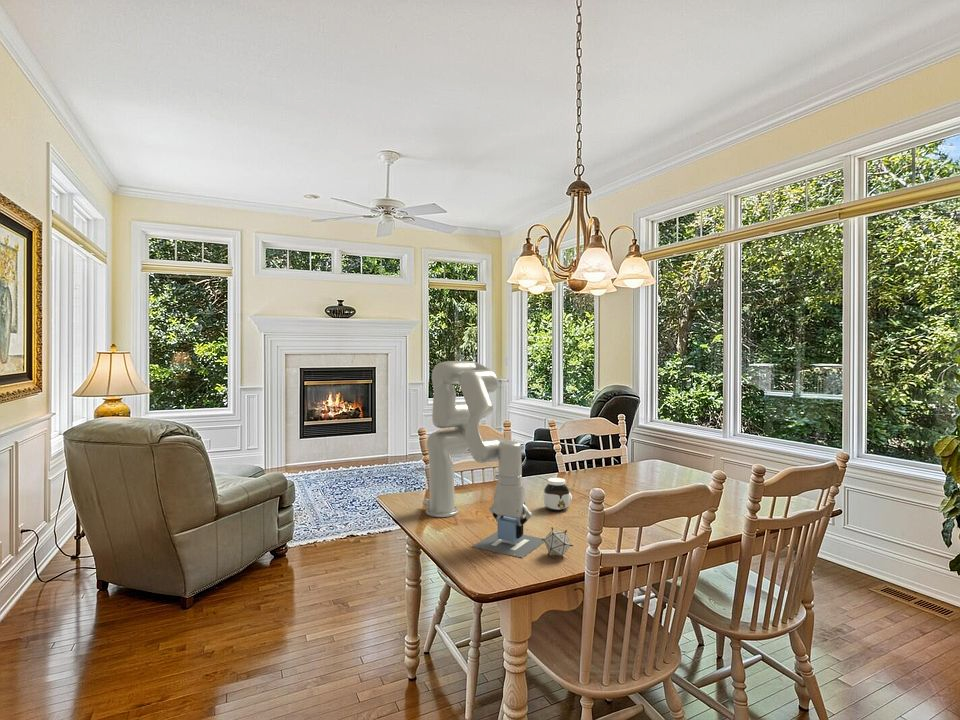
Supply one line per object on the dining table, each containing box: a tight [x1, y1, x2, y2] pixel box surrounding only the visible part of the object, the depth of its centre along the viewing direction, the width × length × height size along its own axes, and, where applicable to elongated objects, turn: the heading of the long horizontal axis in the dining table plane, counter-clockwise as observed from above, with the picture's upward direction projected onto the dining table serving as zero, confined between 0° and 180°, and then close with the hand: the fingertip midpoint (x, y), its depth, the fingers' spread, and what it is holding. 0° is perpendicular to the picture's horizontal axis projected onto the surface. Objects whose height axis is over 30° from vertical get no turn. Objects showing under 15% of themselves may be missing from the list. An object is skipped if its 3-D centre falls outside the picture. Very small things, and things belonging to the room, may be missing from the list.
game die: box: [541, 526, 574, 560], centre depth 161 cm, size 9×8×10 cm
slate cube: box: [497, 516, 524, 542], centre depth 172 cm, size 6×6×6 cm
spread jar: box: [543, 477, 573, 513], centre depth 210 cm, size 12×11×12 cm
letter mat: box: [472, 530, 545, 559], centre depth 172 cm, size 18×18×1 cm
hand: (510, 534), depth 172 cm, fingers closed on slate cube, 6 cm apart
